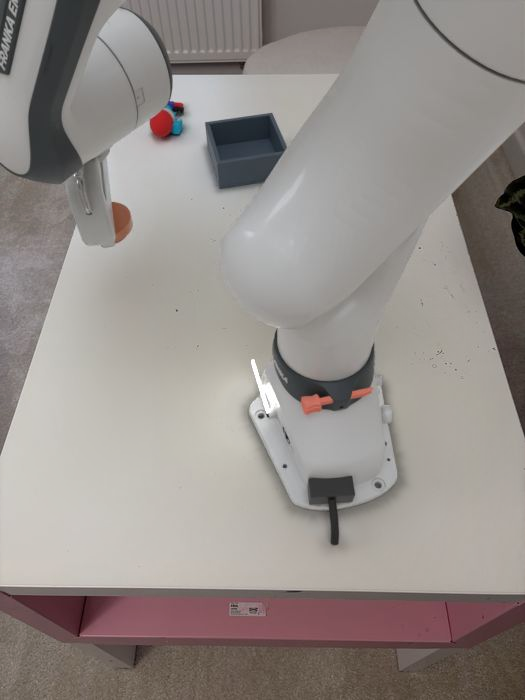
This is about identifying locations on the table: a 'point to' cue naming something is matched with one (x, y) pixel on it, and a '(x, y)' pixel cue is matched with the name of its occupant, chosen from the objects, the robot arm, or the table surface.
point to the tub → (244, 148)
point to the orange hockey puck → (121, 221)
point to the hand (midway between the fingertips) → (106, 222)
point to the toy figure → (167, 120)
